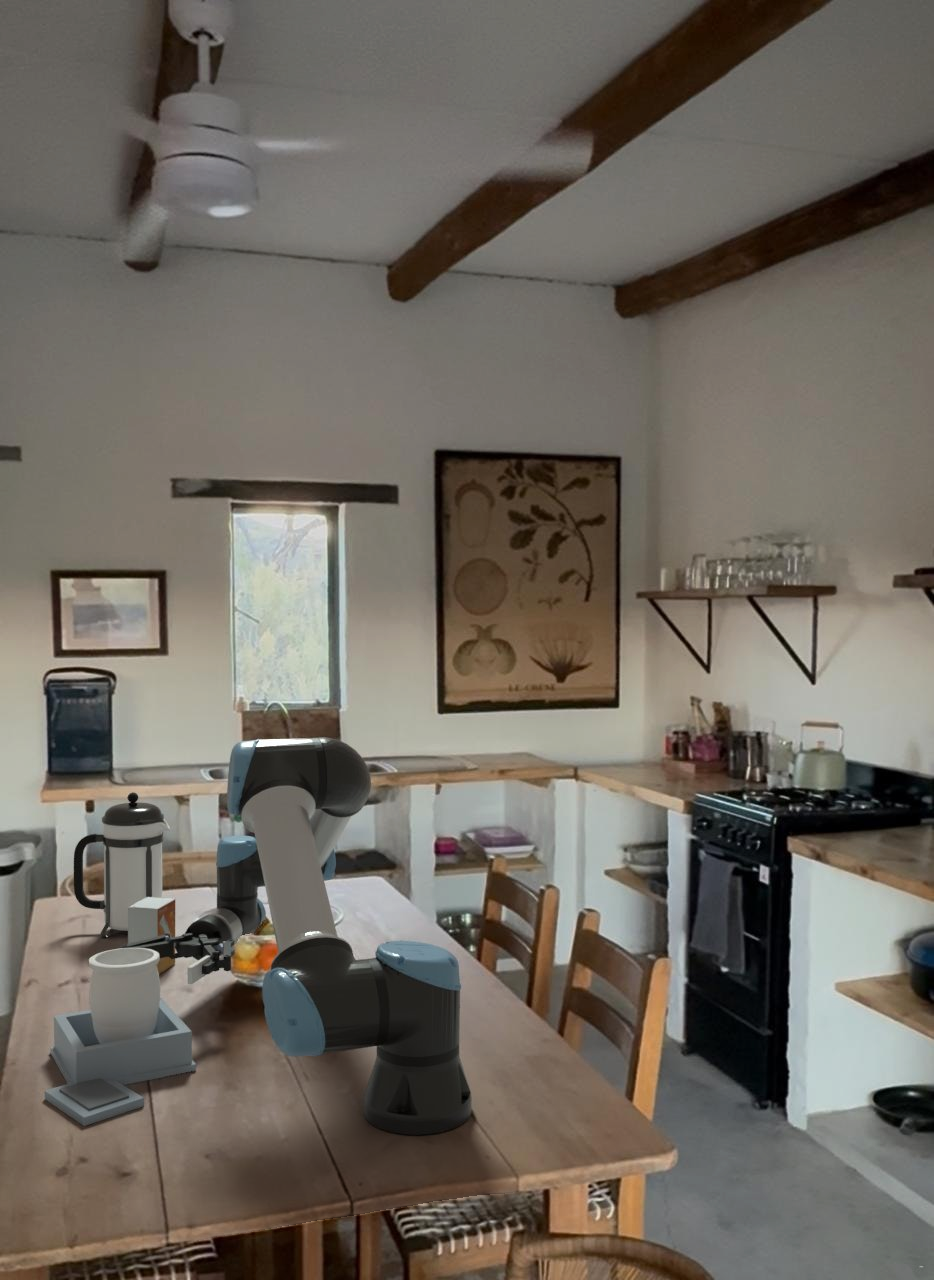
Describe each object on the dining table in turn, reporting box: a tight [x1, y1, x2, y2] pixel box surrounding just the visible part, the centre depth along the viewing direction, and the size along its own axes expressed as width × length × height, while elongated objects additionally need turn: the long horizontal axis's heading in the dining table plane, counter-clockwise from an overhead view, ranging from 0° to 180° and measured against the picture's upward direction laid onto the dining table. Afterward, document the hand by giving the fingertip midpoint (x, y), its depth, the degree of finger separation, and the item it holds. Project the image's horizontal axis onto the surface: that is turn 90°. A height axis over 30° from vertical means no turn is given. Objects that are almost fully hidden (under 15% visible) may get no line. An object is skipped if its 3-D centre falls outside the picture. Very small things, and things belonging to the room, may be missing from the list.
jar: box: [88, 947, 161, 1044], centre depth 182 cm, size 11×10×15 cm
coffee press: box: [73, 792, 171, 938], centre depth 252 cm, size 17×16×30 cm
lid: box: [44, 1078, 145, 1127], centre depth 167 cm, size 12×9×2 cm
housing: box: [49, 997, 197, 1086], centre depth 182 cm, size 18×18×6 cm
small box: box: [127, 897, 176, 975], centre depth 227 cm, size 8×6×13 cm
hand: (151, 972), depth 190 cm, fingers open, 13 cm apart
